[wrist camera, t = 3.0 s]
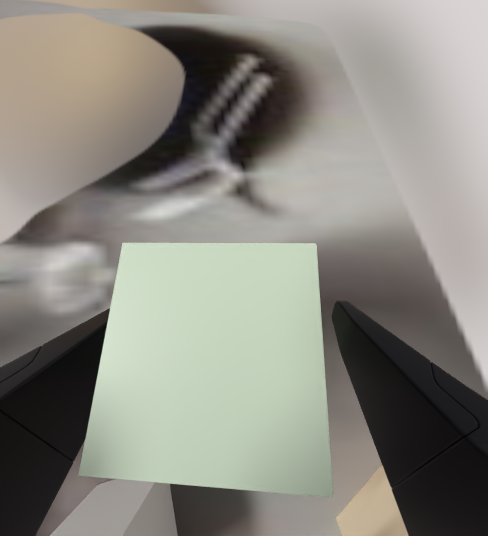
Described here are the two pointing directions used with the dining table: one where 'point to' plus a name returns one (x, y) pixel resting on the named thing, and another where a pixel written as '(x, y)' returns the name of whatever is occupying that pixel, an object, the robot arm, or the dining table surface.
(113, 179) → the dining table surface
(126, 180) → the dining table surface
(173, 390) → the sage block
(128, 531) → the white cube
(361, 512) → the oak cube
